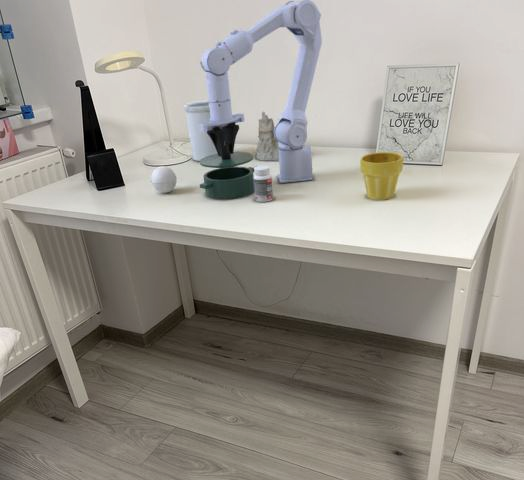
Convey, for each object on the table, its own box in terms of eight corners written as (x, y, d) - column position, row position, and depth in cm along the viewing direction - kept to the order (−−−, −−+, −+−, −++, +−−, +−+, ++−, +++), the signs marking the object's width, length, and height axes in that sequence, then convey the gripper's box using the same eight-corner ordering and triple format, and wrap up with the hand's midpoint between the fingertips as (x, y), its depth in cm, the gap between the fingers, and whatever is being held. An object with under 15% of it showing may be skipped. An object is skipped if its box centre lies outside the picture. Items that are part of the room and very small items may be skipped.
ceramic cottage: (293, 161, 175) (290, 110, 167) (248, 161, 181) (243, 113, 174) (310, 152, 187) (308, 104, 179) (267, 153, 193) (264, 107, 186)
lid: (189, 166, 149) (186, 147, 146) (228, 153, 157) (226, 136, 155) (225, 172, 140) (222, 153, 137) (264, 159, 148) (263, 140, 146)
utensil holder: (197, 152, 197) (189, 100, 187) (237, 150, 194) (231, 97, 185) (186, 163, 184) (178, 108, 175) (229, 161, 182) (223, 105, 173)
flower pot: (376, 205, 133) (377, 164, 128) (351, 195, 141) (352, 157, 135) (409, 196, 136) (412, 156, 131) (383, 187, 144) (385, 149, 139)
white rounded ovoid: (163, 187, 162) (159, 162, 158) (183, 189, 158) (179, 163, 154) (142, 197, 155) (136, 171, 151) (162, 200, 151) (157, 173, 147)
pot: (188, 197, 151) (185, 178, 148) (238, 179, 162) (236, 162, 159) (221, 205, 143) (219, 186, 140) (271, 186, 154) (269, 167, 151)
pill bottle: (271, 202, 142) (269, 169, 137) (253, 202, 143) (250, 170, 138) (274, 196, 146) (272, 164, 141) (257, 196, 147) (254, 165, 142)
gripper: (229, 95, 147) (235, 147, 154) (188, 105, 138) (196, 159, 146) (247, 96, 142) (252, 149, 150) (206, 106, 134) (213, 162, 141)
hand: (225, 154), depth 147 cm, fingers closed on lid, 2 cm apart
